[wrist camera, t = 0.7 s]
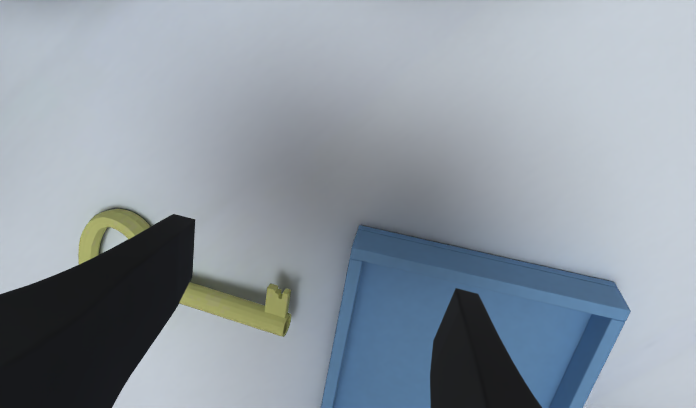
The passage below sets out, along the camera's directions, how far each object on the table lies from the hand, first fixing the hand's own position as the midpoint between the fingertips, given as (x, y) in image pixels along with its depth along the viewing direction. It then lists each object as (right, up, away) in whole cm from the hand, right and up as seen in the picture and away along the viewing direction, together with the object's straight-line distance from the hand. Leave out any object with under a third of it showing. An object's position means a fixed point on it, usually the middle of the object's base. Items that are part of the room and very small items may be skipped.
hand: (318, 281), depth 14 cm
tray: (+6, -7, +14) cm, 17 cm away
